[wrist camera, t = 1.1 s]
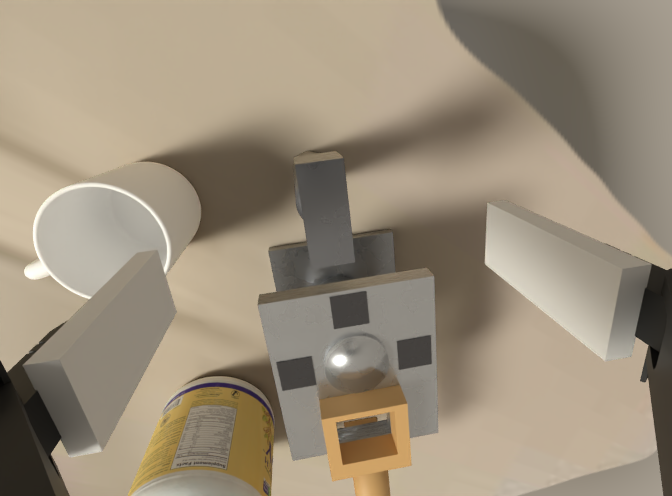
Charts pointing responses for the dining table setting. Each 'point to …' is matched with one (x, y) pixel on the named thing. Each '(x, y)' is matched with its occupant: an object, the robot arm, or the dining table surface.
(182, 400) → the supplement tub
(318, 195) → the wedge pin
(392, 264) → the ball joint plate
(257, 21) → the dining table surface
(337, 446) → the wooden handled frame
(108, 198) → the cup
